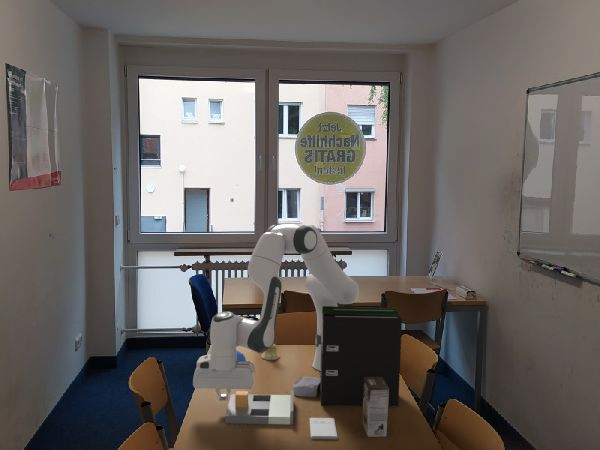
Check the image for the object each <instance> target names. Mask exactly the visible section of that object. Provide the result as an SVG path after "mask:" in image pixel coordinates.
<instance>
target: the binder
mask: <svg viewBox="0 0 600 450" xmlns="http://www.w3.org/2000/svg"><path fill="white" fill-rule="evenodd" d="M402 324H403V317H401V315H400V314H399V311H398V310H397V308H394V307H393V308H392V307H390V308H389V307H367V306H366V307H364V306H363V307H362V306H361V307H359V306H358V307H357V306H338V307H334V306H322V333H321V371H320V372H319V373H320V376H319V379H320V390H319V392H320V393H319V395H320V406H323V407H363V389H364V377H383V379H384V381H385V382H386V384H387V386H388V387H389V399H388V406H398V407H399V398H400V397H399V396H400V377H401V375H400V372H401V355H402V354H401V353H402V352H401V351H402V350H401V347H402V328H403V325H402Z"/></svg>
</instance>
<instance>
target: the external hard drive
mask: <svg viewBox="0 0 600 450" xmlns="http://www.w3.org/2000/svg"><path fill="white" fill-rule="evenodd" d="M335 421H336V420H335V418H334V417H309V427H310V428H309V430H310V431H309V433H310V439H311V440H338V433H337V427H336V426H337V425H336V423H335Z"/></svg>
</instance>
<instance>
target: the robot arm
mask: <svg viewBox="0 0 600 450" xmlns="http://www.w3.org/2000/svg"><path fill="white" fill-rule="evenodd" d="M285 254H291V255H292V254H300V256H301V258H302V261H303V262H304V264H305V266H306V268H307V270H308V272H309V274H308V276H307V277H306V280H305V283H304V284H305V290H306V292H307V293H308V294H309V295H310V298H311V299H312V301H313V305H314V307H315V311H316V323H317V324H316V333H315V354H314V358H313V361H312V365H311V366H312V367H313V368H314V369H315V370H316V371H321V333H322V306H334V307H339V306H338V304H339V305H352V304H353V303H354V302H356V300H357V299H358V298H359V293H360V288H359V285H358V282H356V281H355V280H353V279H352V278H351V277H350V276H349V275H348V274H347V273H346V272H345V271H344V270H343V269H342V268H341V266H339V264H338V263H337V261H336V260H335V259H334V256H333V255H332V252H331V250H330V248H329V247H328V244H327V242H326V240H325V238H324V236H323V235H322V233H321V232H320V230H319V229H318V228H317V227H316V226H314V225H312V224H307V225H305V224H301V225H300V224H295V223H287V224H286V223H285V224H280V223H278V224H272V225H270V226H269V227H268V228H267V229H266V231H265V232H264V233H262V234H261V236H260V237H259V239H258V241H257V242H256V245H255V247H254V248H253V251H252V253H251V256H250V259H249V262H248V264H247V274H248V277H249V279H250V280H251V282H252V283H253V284H254V285H255V286H257V287H258V288H259V289H260V290H261V291H262V293H263V301H262V307H261V312H260V317H259V319H258V320H255V319H251V318H247V317H244V316H238V315H236V314H235V313H234V312H232V311H221V312H218V313H216V314H215V315H214V316H212V319H211V322H210V323H211V324H210V332H209V336H210V337H209V340H210V344H211V348H210V353H208V354H205V355H202V356H200V357H199V358H198V360H197V361H196V368H195V370H194V374H193V377H192V378H193V379H192V386H193V388H194V389H211V390H212V389H214V390H215V392H216V395H217V396H218V401H219V402H222V401H224V402H229V401H228V400H229V396H230V395H231V394H230V393H231V392H232V390H251V389H252V388H253V387H254V373H255V365H254V363H252V362H251V361H250V360H249V361H248V360H246V361H237V351H238V350H237V347H242V348H245V349H249V350H251V351H253V352H255V353H258V354H261V353H262V354H263V353H264V352H265V351H267V350H268V349H269V348H270V347H271V346H272V345H273V344H275V343H274V342H275V340H276V339H275V338H276V325H277V318H278V312H279V307H280V302H281V296H282V281H281V279H280V278H279V277H280V276H279V275H280V268H281V266H282V262H283V260H284V259H283V258H284V255H285ZM222 389H223V390H226V393H222V392H221V390H222Z"/></svg>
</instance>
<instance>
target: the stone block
mask: <svg viewBox="0 0 600 450" xmlns="http://www.w3.org/2000/svg"><path fill="white" fill-rule="evenodd" d="M292 390H293V395H294V396H297V397H298V396H299V397H309V398H310V397H312V398H317V396H318V395H319V392H320V377H319V378H318V377H314V376H302V377H299V378H297V379H296V380H295V382H294V384H292Z"/></svg>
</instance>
